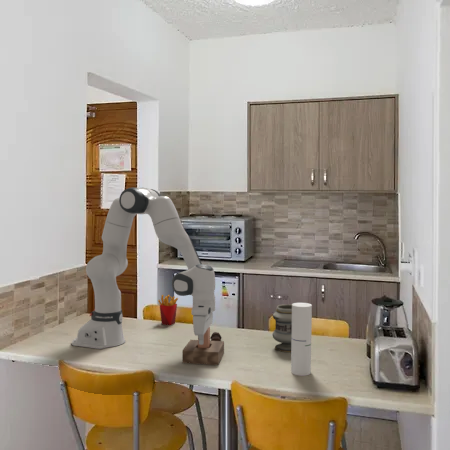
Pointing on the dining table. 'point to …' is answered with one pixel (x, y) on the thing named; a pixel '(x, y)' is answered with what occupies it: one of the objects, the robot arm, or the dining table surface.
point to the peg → (205, 340)
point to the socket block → (203, 353)
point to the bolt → (215, 337)
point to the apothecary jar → (283, 327)
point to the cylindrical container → (301, 339)
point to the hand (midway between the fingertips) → (203, 340)
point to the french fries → (168, 310)
